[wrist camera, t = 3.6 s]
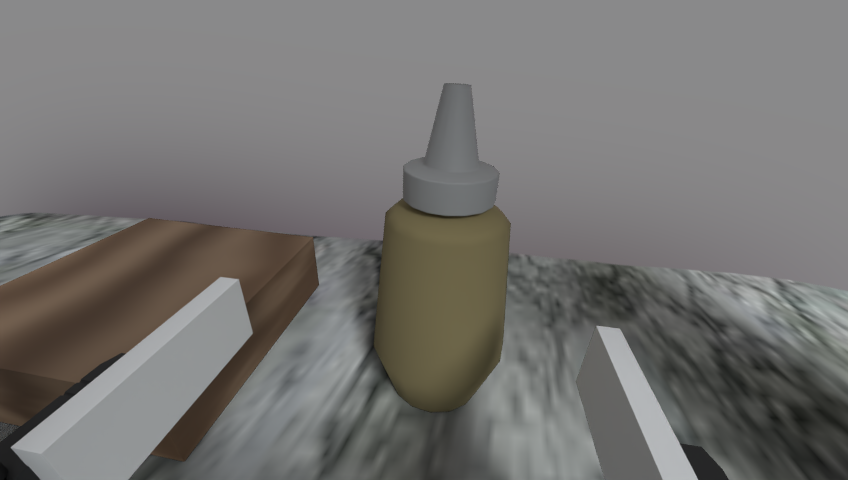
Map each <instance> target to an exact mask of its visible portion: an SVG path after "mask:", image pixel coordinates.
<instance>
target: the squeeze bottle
mask: <svg viewBox="0 0 848 480" xmlns="http://www.w3.org/2000/svg"><path fill="white" fill-rule="evenodd" d="M499 174H500V173H499V172H498V170H497V169H496V168H495V167H494V166H492V165H489V164H487V163H485V162H482V161H479V159H478V149H477V139H476V129H475V119H474V109H473V99H472V88H471V85H468V84H454V83H453V84H452V83H446V84H444V86H443V90H442V94H441V98H440V102H439V106H438V109H437V113H436V117H435V121H434V125H433V129H432V133H431V137H430V141H429V144H428V148H427V152H426V156H425V157H422V158H419V159H415V160H411V161H410V162H408V163H407V164H405V165H404V166H403V199H401V200H400V201H399V202H398V203H396V204H395V205H394V206H393V207H391V208H390V209H389V210H388V211H387V212H386V216H385V226H384V238H383V248H382V258H381V269H380V280H379V291H378V302H377V313H376V324H375V335H374V347H375V349H376V351H377V353H378V356H379V358H380V360H381V362H382V364H383V366H384V368H385V370H386V372H387V373H388V375H389V377H390V379H391V381H392V383H393V385H394V387H395V389H396V391H397V393H398V395H399V396H400V397H402V398H403V399H404V400H405V401H406V402H408V403H409V404H410V405H411V406H413V407H416V408H419V409H422V410H425V411H428V412H449V411H451V410H454V409H456V408H458V407H460V406H463V405H465V404H466V403H467V402H468V400H469V399H470V398H471V397H472V396H473V395H474V394H475V392H476V391H477V390H478V389H479V387H480V386H481V385H482V383H483V382H484V381H485V380H486V378H487V377H488V376H489V374H490V373H491V372H492V371H493V369H494V368H495V367H496V365H497V364H498V363H499V362H500V357H501V351H502V345H503V334H504V319H505V303H506V288H507V272H508V257H509V241H510V225H511V223H510V222H509V220H508V219H507V218H506V216H505V215H504V214H503V212H502V211H500V209H499V208H498V207H496V206H495V205H494V203H495V201H496V194H497V188H498V181H499Z"/></svg>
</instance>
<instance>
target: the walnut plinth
mask: <svg viewBox="0 0 848 480" xmlns="http://www.w3.org/2000/svg"><path fill="white" fill-rule="evenodd" d="M220 277H225V278H233V279H239V282H240V286H241V290H242V293H243V297H244V301H245V305H246V309H247V312H248V316H249V320H250V324H251V328H252V332H253V334H252V335H251V336H250V337H249V339H248V340H247V341H246V342H245V343H244V344H243V346H242V347H241V348H240V349H239V350H238V351H237V353H236V354H235V355H234V356H233V357H232V358H231V360H230V361H229V362H228V363H227V364H226V365H225V367H224V368H223V369H222V370H221V371H220V373H219V374H218V375H217V376H216V377H215V378H214V380H213V381H212V382H211V383H210V384H209V385H208V387H207V388H206V389H205V390H204V391H203V392H202V394H201V395H200V396H199V397H198V398H197V399H196V401H195V402H194V403H193V404H192V405H191V407H190V408H189V409H188V410H187V411H186V412H185V414H184V415H183V416H182V417H181V418H180V419H179V421H178V422H177V423H176V424H175V425H174V426H173V428H172V429H171V430H170V431H169V432H168V433H167V435H166V436H165V437H164V438H163V439H162V441H161V442H160V443H159V444H158V445H157V446H156V448H155V449H154V450H153V451H152V452H151V453H150V454H151V455H156V456H160V457H165V458H169V459H174V460H179V461H183V462H184V461H185V460H186V459H187V458H188V456H189V455H190V454H191V452H192V451H193V450H194V448H195V447H196V446H197V444H198V443H199V442H200V440H201V439H202V438H203V437H204V435H205V434H206V433H207V431H208V430H209V429H210V427H211V426H212V425H213V423H214V422H215V421H216V419H217V418H218V417H219V416H220V414H221V413H222V412H223V410H224V409H225V408H226V406H227V405H228V404H229V402H230V401H231V400H232V398H233V397H234V396H235V394H236V393H237V392H238V391H239V389H240V388H241V387H242V385H243V384H244V383H245V381H246V380H247V379H248V377H249V376H250V375H251V373H252V372H253V371H254V370H255V368H256V367H257V366H258V364H259V363H260V362H261V360H262V359H263V358H264V356H265V355H266V354H267V352H268V351H269V350H270V349H271V347H272V346H273V345H274V343H275V342H276V341H277V339H278V338H279V337H280V335H281V334H282V333H283V331H284V330H285V329H286V328H287V326H288V325H289V324H290V322H291V321H292V320H293V318H294V317H295V316H296V314H297V313H298V312H299V310H300V309H301V308H302V307H303V305H304V304H305V303H306V301H307V300H308V299H309V297H310V296H311V295H312V293H313V292H314V291H315V289H316V288H317V287H318V285H319V281H318V273H317V266H316V258H315V250H314V242H313V237H306V236H297V235H289V234H280V233H272V232H263V231H255V230H246V229H238V228H229V227H221V226H212V225H204V224H195V223H187V222H178V221H169V220H161V219H152V218H148V219H146V220H144V221H142V222H139V223H137V224H135V225H133V226H131V227H128V228H126V229H124V230H122V231H120V232H118V233H115V234H113V235H111V236H109V237H107V238H104V239H102V240H100V241H98V242H96V243H93V244H91V245H89V246H87V247H85V248H82V249H80V250H78V251H76V252H74V253H71V254H69V255H67V256H65V257H63V258H60V259H58V260H56V261H54V262H52V263H50V264H47V265H45V266H43V267H41V268H39V269H36V270H34V271H32V272H30V273H28V274H25V275H23V276H21V277H19V278H17V279H14V280H12V281H10V282H8V283H6V284H3V285H1V286H0V422H3V423H8V424H13V425H17V426H22V425H23V424H24V423H26V422H27V421H28V420H30V419H31V418H32V417H33V416H35V415H36V414H37V413H38V412H40V411H41V410H42V409H44V408H45V407H46V406H47V405H49V404H50V403H51V402H52V401H54V400H55V399H56V398H58V397H59V396H60V395H64V393H65V391H67V390H68V389H69V388H70V387H72V386H73V385H74V384H75V383H79V382H80V381H81V379H82V378H83V377H84V376H86V375H87V374H88V373H89V372H91V371H92V370H93V369H95V368H96V367H97V366H98V365H100V364H102V363H103V362H105V361H107V360H109V359H111V358H113V357H115V356H117V355H118V354H120V353H127V352H129V351H130V350H131V349H132V348H134V347H135V346H136V345H137V344H139V343H140V342H141V341H142V340H143V339H145V338H146V337H147V336H148V335H150V334H151V333H152V332H153V331H155V330H156V329H157V328H158V327H159V326H161V325H162V324H163V323H164V322H166V321H167V320H168V319H169V318H171V317H172V316H173V315H174V314H175V313H177V312H178V311H179V310H180V309H182V308H183V307H184V306H185V305H187V304H188V303H189V302H190V301H191V300H193V299H194V298H195V297H196V296H198V295H199V294H200V293H201V292H203V291H204V290H205V289H206V288H207V287H209V286H210V285H211V284H212V283H214V282H215V281H216V280H217V279H219V278H220Z"/></svg>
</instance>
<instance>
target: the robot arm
mask: <svg viewBox="0 0 848 480" xmlns="http://www.w3.org/2000/svg"><path fill="white" fill-rule="evenodd" d="M252 334H253V332H252V328H251V324H250V320H249V316H248V312H247V309H246V305H245V301H244V297H243V293H242V290H241V286H240V282H239V279H233V278H225V277H220V278H219V279H217V280H216V281H215V282H214V283H212V284H211V285H210V286H209V287H207V288H206V289H205V290H204V291H203V292H201V293H200V294H199V295H198V296H196V297H195V298H194V299H193V300H191V301H190V302H189V303H188V304H187V305H185V306H184V307H183V308H182V309H180V310H179V311H178V312H177V313H175V314H174V315H173V316H172V317H171V318H169V319H168V320H167V321H166V322H164V323H163V324H162V325H161V326H159V327H158V328H157V329H156V330H155V331H153V332H152V333H151V334H150V335H148V336H147V337H146V338H145V339H143V340H142V341H141V342H140V343H139V344H137V345H136V346H135V347H134V348H132V349H131V350H130V351H129V352H127V353H120V354H118V355H117V356H115V357H113V358H111V359H109V360H107V361H105V362H103V363H102V364H100V365H98V366H97V367H96V368H95V369H93V370H92V371H91V372H89V373H88V374H87V375H86V376H84V377H83V378H82V379H81V381H80V382H79V383H75V384H74V385H73V386H72V387H70V388H69V389H68V390H67V391H65V393H64V395H60V396H59V397H58V398H56V399H55V400H54V401H52V402H51V403H50V404H49V405H47V406H46V407H45V408H44V409H42V410H41V411H40V412H38V413H37V414H36V415H35V416H33V417H32V418H31V419H30V420H28V421H27V422H26V423H24V424H23V425H22V426H21V427H19V428H18V429H17V430H16V431H14V432H13V433H12V434H10V435H9V436H8V437H7V438H5V439H4V440H3V441H2V442H0V480H128V479H129V478H130V477H131V476H132V475H133V473H134V472H135V471H136V470H137V469H138V467H139V466H140V465H141V464H142V463H143V462H144V460H145V459H146V458H147V457H148V456H149V455H150V453H151V452H152V451H153V450H154V449H155V448H156V446H157V445H158V444H159V443H160V442H161V441H162V439H163V438H164V437H165V436H166V435H167V433H168V432H169V431H170V430H171V429H172V428H173V426H174V425H175V424H176V423H177V422H178V421H179V419H180V418H181V417H182V416H183V415H184V414H185V412H186V411H187V410H188V409H189V408H190V407H191V405H192V404H193V403H194V402H195V401H196V399H197V398H198V397H199V396H200V395H201V394H202V392H203V391H204V390H205V389H206V388H207V387H208V385H209V384H210V383H211V382H212V381H213V380H214V378H215V377H216V376H217V375H218V374H219V373H220V371H221V370H222V369H223V368H224V367H225V365H226V364H227V363H228V362H229V361H230V360H231V358H232V357H233V356H234V355H235V354H236V353H237V351H238V350H239V349H240V348H241V347H242V346H243V344H244V343H245V342H246V341H247V340H248V339H249V337H250V336H251V335H252ZM576 384H577V387H578V390H579V394H580V397H581V401H582V404H583V407H584V411H585V414H586V418H587V421H588V425H589V428H590V431H591V435H592V438H593V442H594V445H595V448H596V452H597V455H598V459H599V462H600V466H601V469H602V472H603V476H604V479H605V480H729V479H728V478H727V476H726V474H725V473H724V471H723V469H722V468H721V467H720V466H719V465H718V464H717V463H716V462H715V461H714V460H713V459H712V458H711V457H710V456H709V455H708V453H707V452H706V451H705V450H704V449H703V448H702V447H698V446H692V445H686V444H680V443H679V442H678V440H677V438H676V436H675V434H674V432H673V430H672V428H671V426H670V424H669V422H668V420H667V418H666V417H665V415H664V413H663V411H662V409H661V407H660V405H659V403H658V401H657V399H656V397H655V395H654V393H653V391H652V389H651V388H650V386H649V384H648V382H647V380H646V378H645V376H644V374H643V372H642V370H641V368H640V366H639V364H638V362H637V360H636V359H635V357H634V355H633V353H632V351H631V349H630V347H629V345H628V343H627V341H626V339H625V337H624V335H623V333H622V331H621V330H620V329H619V328H611V327H603V326H596V327H595V330H594V333H593V336H592V338H591V341H590V344H589V347H588V350H587V352H586V355H585V358H584V361H583V363H582V366H581V369H580V372H579V374H578V377H577V380H576Z"/></svg>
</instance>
